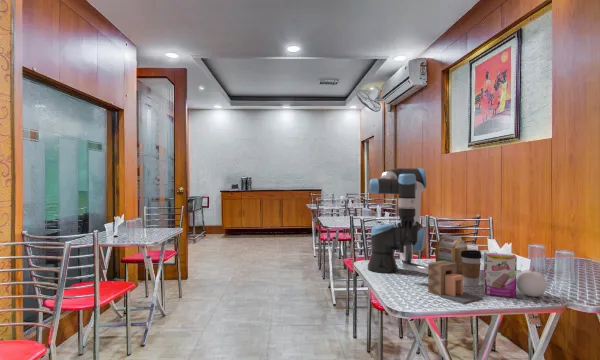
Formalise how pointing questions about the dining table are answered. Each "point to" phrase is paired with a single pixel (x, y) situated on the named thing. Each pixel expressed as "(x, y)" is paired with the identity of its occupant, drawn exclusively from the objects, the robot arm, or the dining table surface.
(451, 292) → the spacer
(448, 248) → the milk carton
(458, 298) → the mat
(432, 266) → the brown notched block
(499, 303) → the dining table surface
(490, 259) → the candy bar box
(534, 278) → the ornament
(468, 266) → the coffee cup
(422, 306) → the dining table surface
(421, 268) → the shaft
